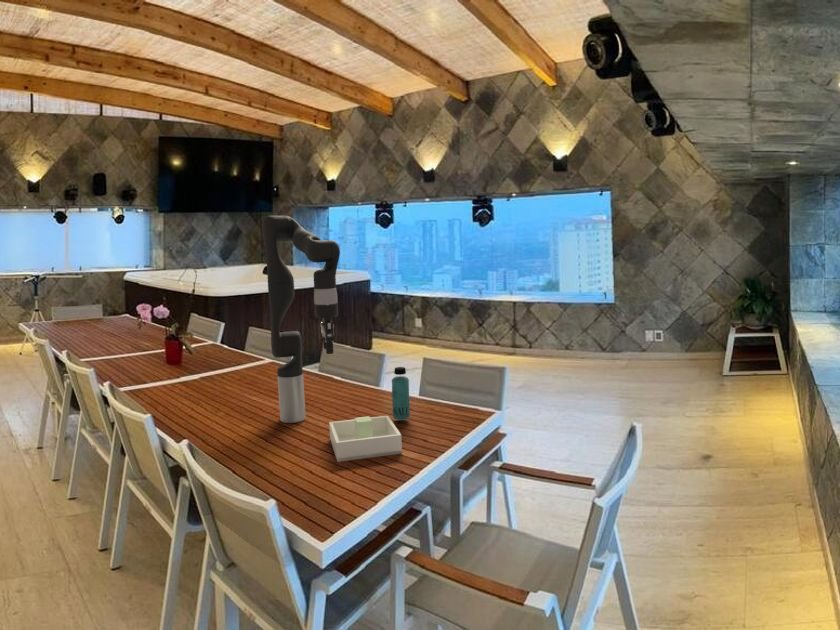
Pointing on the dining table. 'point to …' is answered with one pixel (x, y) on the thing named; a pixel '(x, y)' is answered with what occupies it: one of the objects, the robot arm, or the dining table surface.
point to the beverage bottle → (400, 395)
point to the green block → (363, 427)
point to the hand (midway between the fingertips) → (328, 351)
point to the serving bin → (365, 439)
